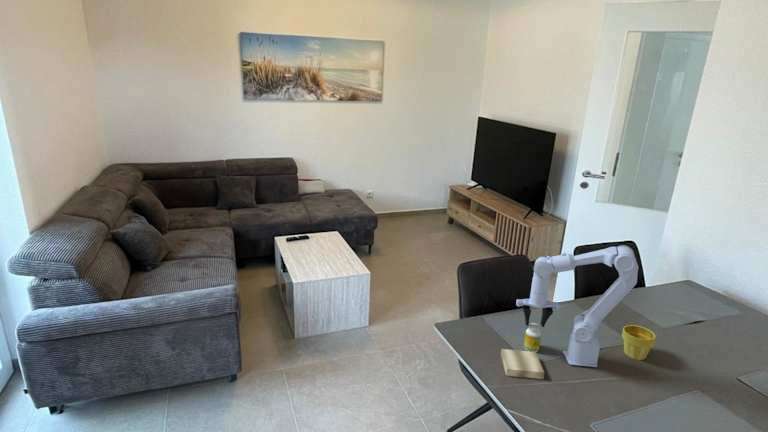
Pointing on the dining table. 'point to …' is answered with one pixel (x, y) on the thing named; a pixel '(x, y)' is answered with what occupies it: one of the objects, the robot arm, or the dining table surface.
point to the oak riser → (522, 364)
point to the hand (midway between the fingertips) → (534, 325)
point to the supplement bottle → (532, 337)
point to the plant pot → (637, 341)
